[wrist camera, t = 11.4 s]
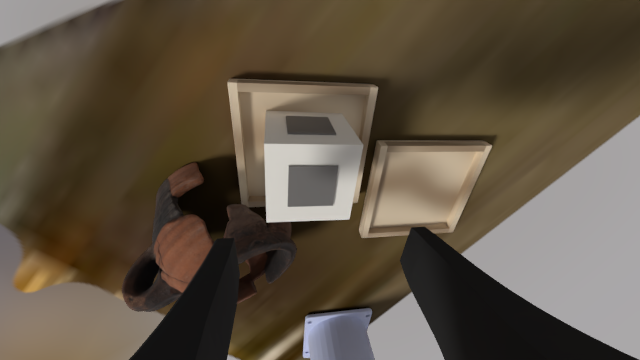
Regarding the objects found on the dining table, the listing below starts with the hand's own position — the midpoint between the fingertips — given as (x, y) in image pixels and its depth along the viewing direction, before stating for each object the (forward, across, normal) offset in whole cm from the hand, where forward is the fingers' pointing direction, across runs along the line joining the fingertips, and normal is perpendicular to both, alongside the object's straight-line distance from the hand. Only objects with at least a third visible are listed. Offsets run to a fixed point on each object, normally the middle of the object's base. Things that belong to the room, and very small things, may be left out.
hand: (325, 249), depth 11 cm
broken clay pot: (+10, +7, +6) cm, 14 cm away
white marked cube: (+9, 0, 0) cm, 9 cm away
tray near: (+10, 0, 0) cm, 10 cm away
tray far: (+10, -10, +4) cm, 15 cm away
